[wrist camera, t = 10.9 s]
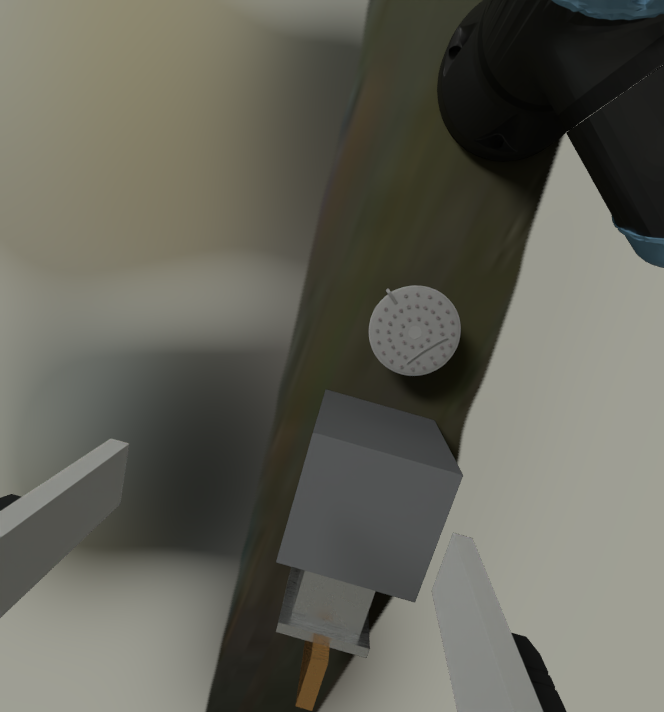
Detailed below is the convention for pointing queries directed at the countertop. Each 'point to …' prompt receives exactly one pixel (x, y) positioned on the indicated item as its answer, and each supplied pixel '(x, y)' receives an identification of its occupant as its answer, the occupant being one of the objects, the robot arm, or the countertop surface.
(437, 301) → the showerhead
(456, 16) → the countertop surface
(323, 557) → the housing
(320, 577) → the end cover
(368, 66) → the countertop surface
